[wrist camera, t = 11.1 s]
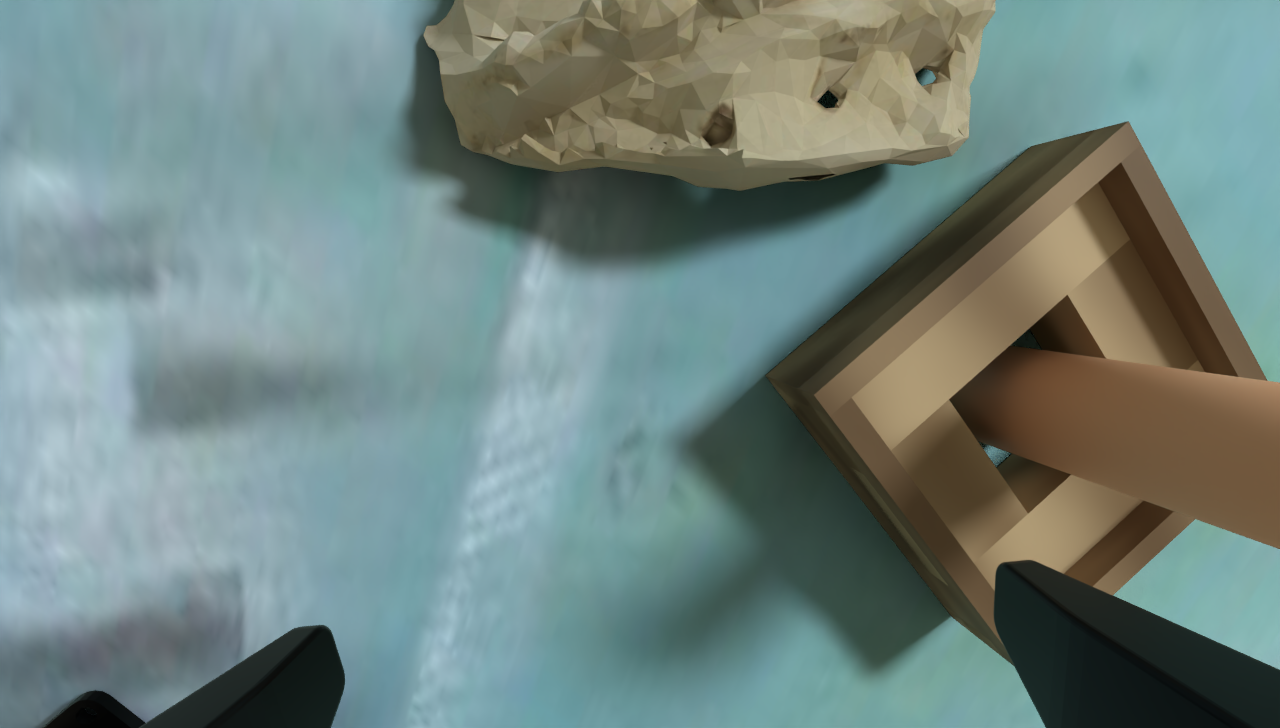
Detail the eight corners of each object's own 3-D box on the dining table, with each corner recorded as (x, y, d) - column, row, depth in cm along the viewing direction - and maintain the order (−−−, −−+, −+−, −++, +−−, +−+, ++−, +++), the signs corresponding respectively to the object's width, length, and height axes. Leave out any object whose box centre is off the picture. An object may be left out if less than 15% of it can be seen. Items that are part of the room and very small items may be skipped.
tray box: (952, 617, 23) (1026, 675, 20) (765, 375, 21) (814, 395, 17) (1183, 406, 24) (1293, 428, 20) (1030, 146, 21) (1128, 121, 18)
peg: (996, 457, 23) (1599, 684, 10) (926, 410, 22) (1482, 593, 9) (1048, 374, 23) (1719, 497, 10) (978, 324, 22) (1611, 390, 9)
